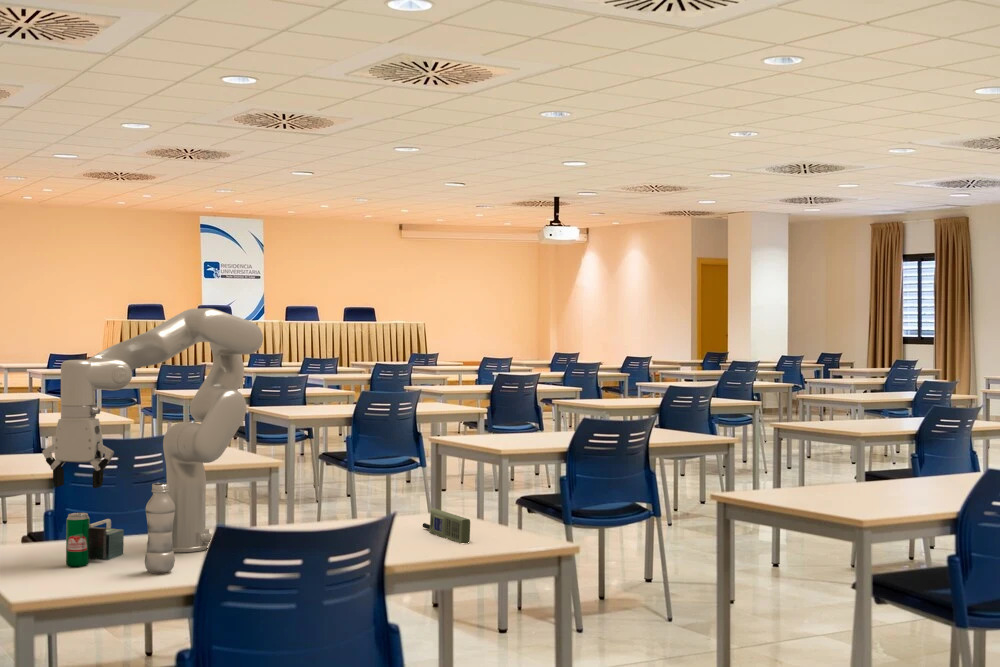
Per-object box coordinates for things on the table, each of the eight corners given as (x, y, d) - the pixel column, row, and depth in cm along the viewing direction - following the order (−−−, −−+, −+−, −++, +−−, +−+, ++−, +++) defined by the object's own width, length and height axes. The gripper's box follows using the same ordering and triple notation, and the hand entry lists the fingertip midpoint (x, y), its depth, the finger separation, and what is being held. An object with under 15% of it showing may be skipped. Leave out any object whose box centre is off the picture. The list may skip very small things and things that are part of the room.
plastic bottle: (163, 568, 256) (164, 481, 256) (180, 572, 252) (181, 483, 252) (138, 572, 251) (139, 484, 251) (155, 577, 247) (156, 486, 247)
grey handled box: (103, 559, 262) (103, 526, 262) (71, 557, 263) (72, 524, 263) (124, 551, 272) (124, 519, 272) (93, 550, 273) (94, 518, 273)
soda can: (64, 568, 255) (65, 516, 255) (67, 564, 260) (67, 512, 260) (88, 567, 256) (88, 515, 257) (90, 563, 261) (90, 512, 261)
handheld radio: (460, 545, 289) (418, 530, 310) (471, 544, 290) (429, 529, 312) (461, 519, 289) (419, 506, 310) (472, 518, 290) (430, 505, 312)
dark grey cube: (108, 559, 265) (108, 534, 265) (81, 558, 267) (81, 533, 267) (123, 554, 272) (123, 529, 272) (96, 553, 273) (97, 528, 273)
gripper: (120, 412, 261) (120, 485, 261) (52, 411, 264) (52, 483, 264) (104, 414, 253) (104, 489, 253) (34, 413, 256) (34, 488, 256)
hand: (78, 486), depth 259 cm, fingers open, 9 cm apart
